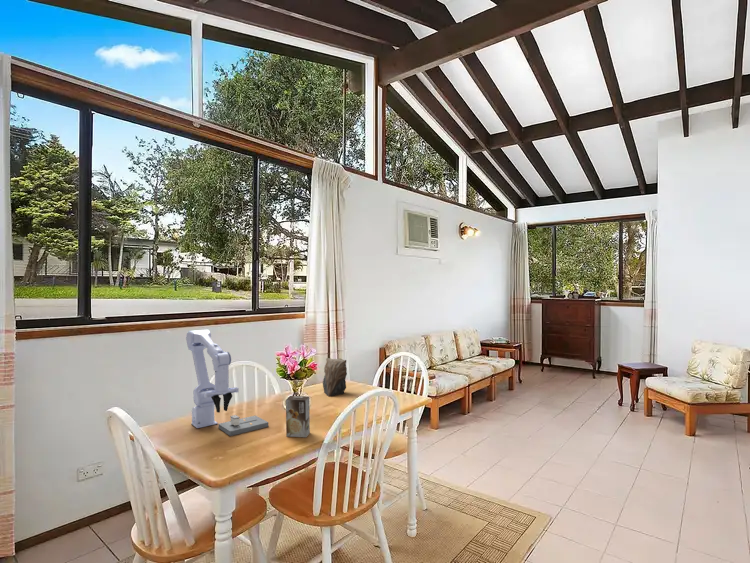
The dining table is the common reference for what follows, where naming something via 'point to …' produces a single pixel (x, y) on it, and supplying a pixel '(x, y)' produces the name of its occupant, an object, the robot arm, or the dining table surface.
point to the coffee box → (297, 416)
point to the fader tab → (235, 420)
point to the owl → (334, 377)
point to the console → (243, 425)
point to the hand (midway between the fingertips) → (221, 411)
